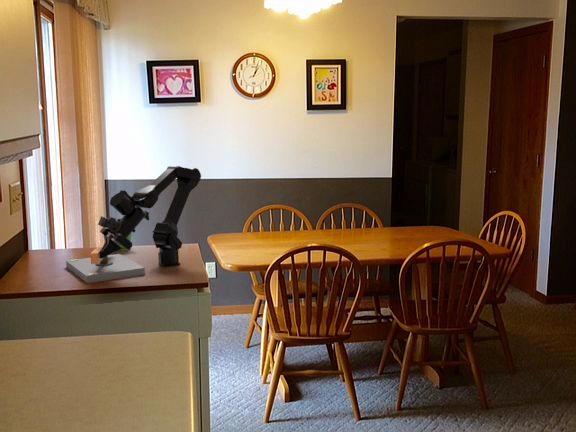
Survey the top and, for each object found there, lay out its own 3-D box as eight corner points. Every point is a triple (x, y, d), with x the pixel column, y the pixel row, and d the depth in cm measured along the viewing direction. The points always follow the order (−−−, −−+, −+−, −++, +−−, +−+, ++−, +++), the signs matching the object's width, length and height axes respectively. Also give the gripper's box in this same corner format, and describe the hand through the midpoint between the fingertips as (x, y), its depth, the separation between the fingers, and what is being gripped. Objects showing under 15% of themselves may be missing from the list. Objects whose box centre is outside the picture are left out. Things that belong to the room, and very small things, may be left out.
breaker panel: (119, 259, 238) (119, 252, 238) (144, 274, 215) (144, 266, 214) (66, 267, 227) (65, 259, 227) (87, 283, 204) (86, 274, 204)
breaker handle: (115, 255, 236) (114, 236, 234) (99, 274, 206) (98, 253, 205) (108, 255, 235) (107, 236, 234) (91, 274, 206) (89, 253, 205)
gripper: (103, 204, 216) (74, 239, 212) (120, 210, 201) (89, 248, 197) (127, 223, 222) (98, 257, 218) (145, 231, 206) (114, 268, 202)
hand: (99, 257), depth 209 cm, fingers closed, pressing on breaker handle
